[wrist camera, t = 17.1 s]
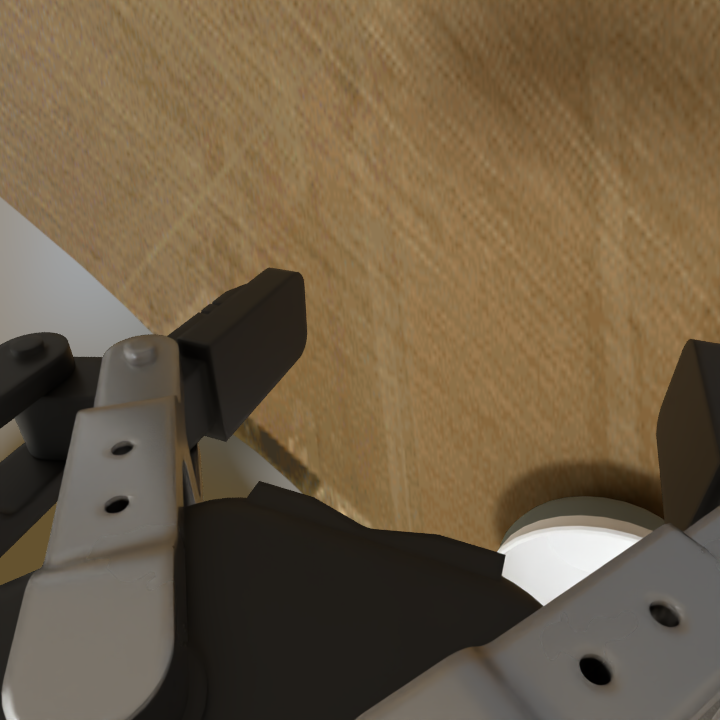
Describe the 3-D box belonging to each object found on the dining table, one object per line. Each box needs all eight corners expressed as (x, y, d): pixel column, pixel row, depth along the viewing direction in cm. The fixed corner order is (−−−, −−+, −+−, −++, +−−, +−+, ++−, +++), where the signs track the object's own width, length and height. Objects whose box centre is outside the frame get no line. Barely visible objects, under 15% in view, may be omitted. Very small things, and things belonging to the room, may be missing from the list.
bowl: (517, 435, 50) (504, 500, 43) (752, 495, 45) (776, 579, 38) (483, 564, 60) (469, 632, 54) (670, 625, 55) (679, 708, 49)
